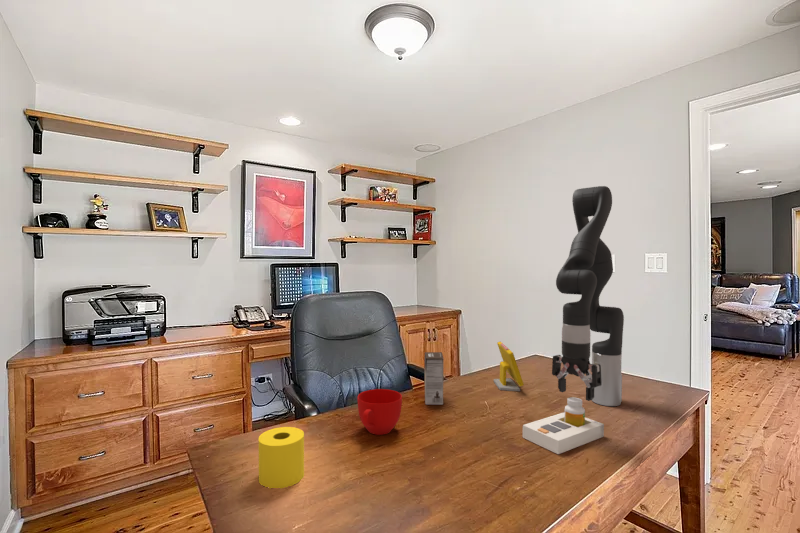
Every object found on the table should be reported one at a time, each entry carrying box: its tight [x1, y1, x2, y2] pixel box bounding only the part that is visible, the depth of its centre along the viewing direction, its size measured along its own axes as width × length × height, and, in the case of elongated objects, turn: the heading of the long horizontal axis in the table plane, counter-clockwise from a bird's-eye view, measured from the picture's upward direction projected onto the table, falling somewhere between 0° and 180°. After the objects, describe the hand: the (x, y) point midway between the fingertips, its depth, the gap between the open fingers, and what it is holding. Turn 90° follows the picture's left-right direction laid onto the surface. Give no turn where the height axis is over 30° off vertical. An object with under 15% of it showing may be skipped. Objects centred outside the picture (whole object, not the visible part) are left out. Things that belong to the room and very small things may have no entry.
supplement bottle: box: [564, 396, 586, 427], centre depth 119 cm, size 5×5×10 cm
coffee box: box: [424, 351, 445, 406], centre depth 146 cm, size 9×6×16 cm
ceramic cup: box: [357, 388, 403, 436], centre depth 119 cm, size 13×17×10 cm
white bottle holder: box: [522, 411, 605, 455], centre depth 116 cm, size 20×12×4 cm, turn 122°
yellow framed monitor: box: [493, 341, 524, 392], centre depth 162 cm, size 20×8×16 cm, turn 179°
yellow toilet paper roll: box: [258, 426, 305, 489], centre depth 95 cm, size 10×10×9 cm
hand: (575, 395), depth 119 cm, fingers open, 8 cm apart
